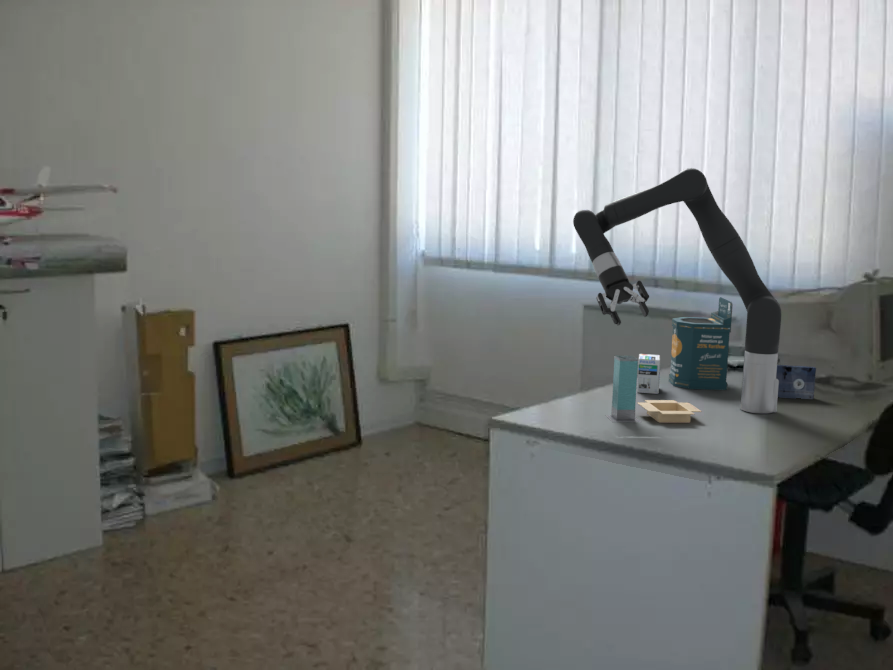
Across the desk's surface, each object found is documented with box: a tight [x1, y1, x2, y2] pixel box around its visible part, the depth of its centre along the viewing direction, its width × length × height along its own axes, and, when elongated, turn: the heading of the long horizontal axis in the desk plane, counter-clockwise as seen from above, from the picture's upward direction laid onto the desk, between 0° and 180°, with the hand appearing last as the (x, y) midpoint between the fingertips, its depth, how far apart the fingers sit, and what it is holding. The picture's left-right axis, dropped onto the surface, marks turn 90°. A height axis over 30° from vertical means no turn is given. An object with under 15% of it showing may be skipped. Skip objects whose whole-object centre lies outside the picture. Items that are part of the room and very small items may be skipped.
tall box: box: [610, 355, 639, 421], centre depth 280 cm, size 5×5×17 cm
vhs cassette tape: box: [776, 364, 817, 400], centre depth 317 cm, size 18×3×10 cm, turn 80°
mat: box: [604, 414, 642, 423], centre depth 281 cm, size 8×8×1 cm
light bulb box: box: [636, 353, 661, 395], centre depth 321 cm, size 11×7×11 cm, turn 168°
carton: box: [636, 399, 702, 424], centre depth 283 cm, size 15×17×4 cm
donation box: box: [668, 296, 733, 391], centre depth 332 cm, size 16×16×28 cm
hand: (633, 319), depth 291 cm, fingers open, 8 cm apart
